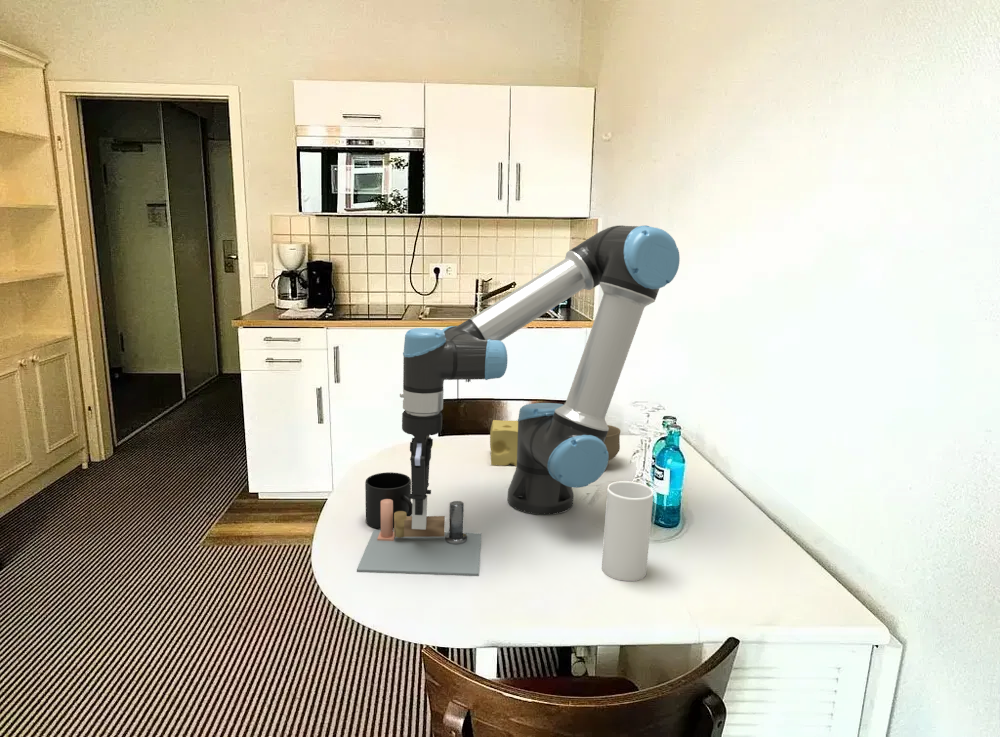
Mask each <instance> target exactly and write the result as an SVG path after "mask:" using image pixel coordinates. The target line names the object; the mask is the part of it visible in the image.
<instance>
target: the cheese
mask: <svg viewBox="0 0 1000 737" xmlns="http://www.w3.org/2000/svg"><path fill="white" fill-rule="evenodd" d="M490 426H491V427H490V433H489V434H490V435H489V446H490V447H489V448H490V463H491V464H490V466H499V467H500V466H502V467H503V466H507V467H508V466H509V465H514V466H515V467H517V442H518V420H501V419H500V420H499V419H497V420H496V419H493V420H492V422H491V425H490Z"/></svg>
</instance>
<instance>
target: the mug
mask: <svg viewBox="0 0 1000 737" xmlns="http://www.w3.org/2000/svg"><path fill="white" fill-rule="evenodd" d="M364 483H365V486H364V489H365V494H364V495H365V497H364V498H365V521H366V524H367V525H368V526H369V527H370V528H374V529H375V530H381V500H383V499H391V500H393V530H394V513H395V512H397V511H404V512H406V513H407V516H412V498H409V494H411V477H409V476H408V475H406V474H404V473H401V472H392V471H391V472H380V473H379V472H378V473H376V474H372V475H370V476H368V477H367V478H366V479H365V482H364Z"/></svg>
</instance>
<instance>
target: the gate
mask: <svg viewBox="0 0 1000 737" xmlns="http://www.w3.org/2000/svg"><path fill="white" fill-rule="evenodd" d="M445 525H446V517H445V515H427V523H426V530H423V529H412V515H411V516H407V513H406V512H404V511H397V512H395V513H394V529H393V530H394V536H395V537H399V538H401V537H442V536H445V529H446V526H445Z"/></svg>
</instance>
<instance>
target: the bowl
mask: <svg viewBox="0 0 1000 737" xmlns="http://www.w3.org/2000/svg"><path fill="white" fill-rule="evenodd" d="M607 426H608V428H609V430H608V433H607V436H606V438H605V441H604V444H605V445H606V448H607V451H608V455H609V459H608V463H609V462H610V461H612V460H613V459H614V458H615V457H616V456H617V455H618V453H619V452H620V449H621V445H620V441H621V440H620V439H621V438H620V437H621V432H622V431H621V429H620V428H619V427H617V426H613V425H608V424H607Z"/></svg>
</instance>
